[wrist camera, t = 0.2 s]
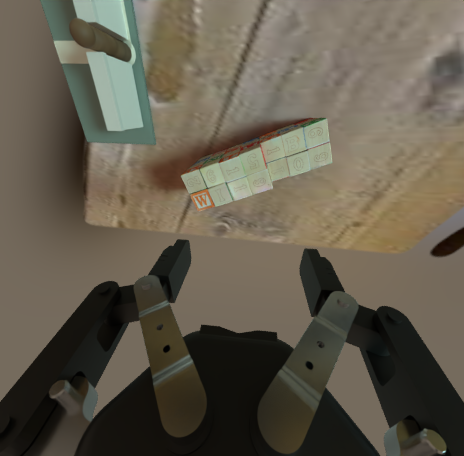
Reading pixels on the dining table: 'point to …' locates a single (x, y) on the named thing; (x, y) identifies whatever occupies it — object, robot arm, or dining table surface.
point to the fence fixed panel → (103, 16)
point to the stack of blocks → (258, 163)
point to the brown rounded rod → (98, 40)
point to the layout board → (81, 80)
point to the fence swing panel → (115, 91)
